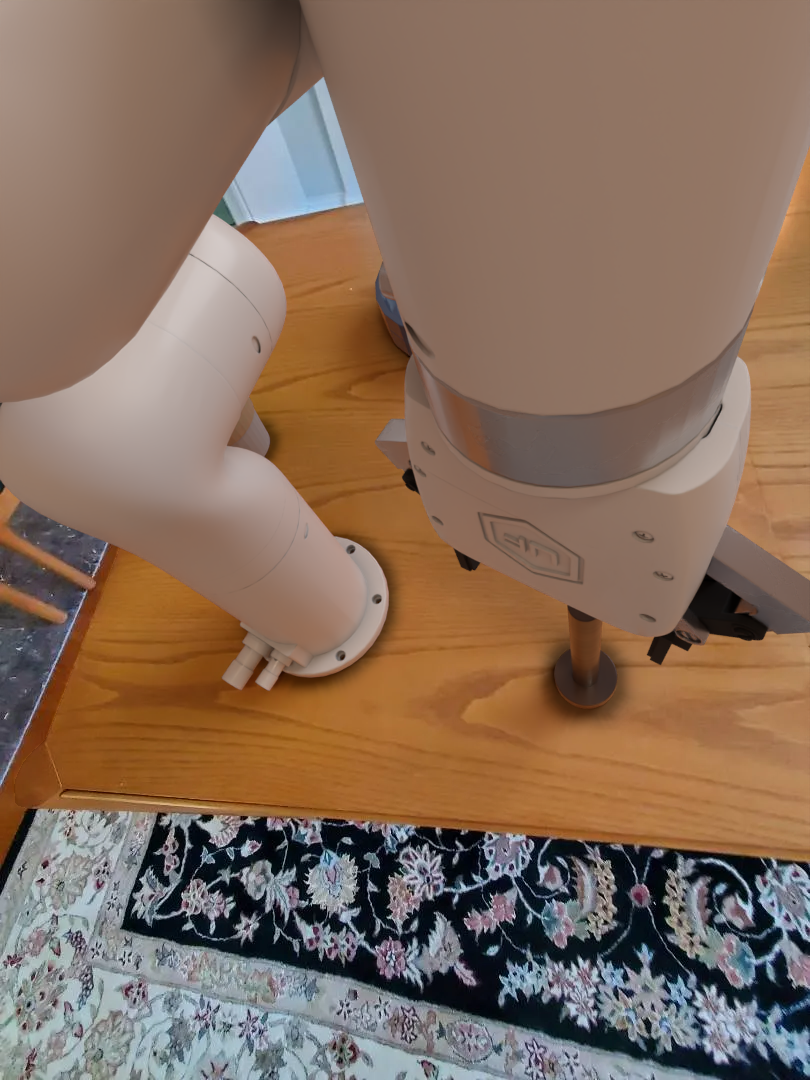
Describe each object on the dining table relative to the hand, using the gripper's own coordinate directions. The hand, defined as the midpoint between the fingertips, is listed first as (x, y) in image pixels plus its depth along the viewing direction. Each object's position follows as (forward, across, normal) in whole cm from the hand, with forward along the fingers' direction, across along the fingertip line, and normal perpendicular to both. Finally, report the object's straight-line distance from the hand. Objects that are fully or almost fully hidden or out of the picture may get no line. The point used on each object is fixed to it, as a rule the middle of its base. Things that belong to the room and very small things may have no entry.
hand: (569, 587), depth 30 cm
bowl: (+19, -27, +29) cm, 44 cm away
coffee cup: (+20, -39, +5) cm, 44 cm away
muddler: (+19, +1, 0) cm, 19 cm away
